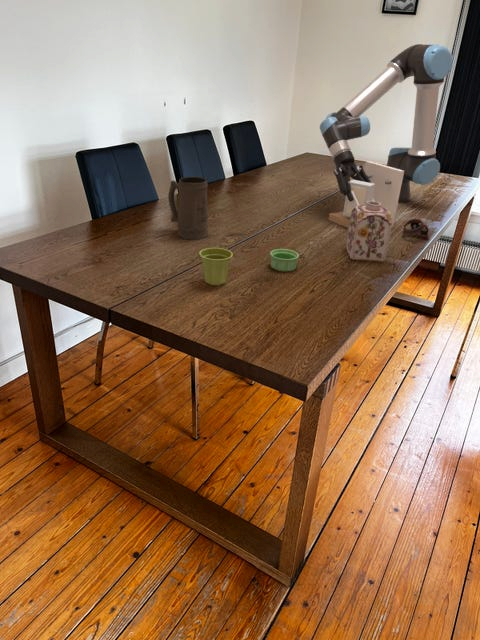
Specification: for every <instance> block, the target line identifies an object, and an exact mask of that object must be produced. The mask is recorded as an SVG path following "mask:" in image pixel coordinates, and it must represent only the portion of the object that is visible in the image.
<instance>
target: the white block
mask: <svg viewBox="0 0 480 640" xmlns="http://www.w3.org/2000/svg"><path fill="white" fill-rule="evenodd" d="M348 183H349V184H350V185H351V191H353V192H354V194H355V197H356V199H357V201H358V203H359V205H366V203H367V202H368V201H372V199H373V194H374V188H375V184H374V183H368V182H363V181H358V180H354V179H350V182H348ZM351 191H350V192H351ZM344 200H345V201H344V205H343V211H342V212H343V215H345V216H349V217H351V212H352V210H353V207H352V205H351V202H350V201H349V200H348V197H347V195H346V196H345V198H344Z"/></svg>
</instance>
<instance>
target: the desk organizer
mask: <svg viewBox="0 0 480 640" xmlns="http://www.w3.org/2000/svg"><path fill="white" fill-rule="evenodd" d="M364 172H365V173H366V175H367V177H368V178H369V180H370V182H371V183H374V184H375V188H374V194H373V199H374V201H375V202H379V203H381V206H382V207H384V208H387V209H389V211H390V212H391V218H392V228H393V227H394V223H395V219H396V218H395V217H396V214H397V210H398V204H399V202H398V200H399V195H400V190H401V185H402V180H403V175H404V171H403V170H399V169H396V168H392V167H389V166H387V165H385V164H381V163H379V162H377V163H376V162H375V161H370V160H369V161H365V166H364ZM328 221H331V222H333V223H335V224H337V225H339V226H342V227H344V228H347V229H349V223H350V217H349V216H345V215H343V211H338V212H332V213H329V214H328Z"/></svg>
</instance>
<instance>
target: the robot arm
mask: <svg viewBox="0 0 480 640" xmlns="http://www.w3.org/2000/svg"><path fill="white" fill-rule="evenodd" d="M452 67H453V55H452V52H451V51H450V50H449V49H448V47H446V46H444V45H439V44H423V43H420V44H418V43H417V44H414V45H410V46H409V47H407V48H405V49H403V50H402V51H401V52H400V53H398V54H396V56H394V58H393V59H391V60H390V61H389V62H388V63H387V65H386V68H384V70H383V71H382V72H380V73H379V74H378V75H377V76H376V77H375V78H374V79H373V80H371V82H369V83H368V84H367V85H366V86H365V87H364V88H362V90H361V91H360V92H358V93H357V94H356V95H355V96H353V98H351V100H349V101H348V102H346V104H345V105H343V107H341V108H340V109H339V110H338V111H336V112H330V113H329V114H327V116H326V118H325V119H324V120H322V121H321V122H320V124H319V130H320V134H321V136H322V137H323V140H324V143H325V145H326V146H327V149H328V151H329V153H330V156H331V158H332V159H333V164H334V165H335V169H334V171H333V174H334V176H335V178H336V181H337V184H338V188H339V192H340V194H343V196H344V197H346V195H347V197H348V200H349V201H350V202H351V205H352V207H353V209H354V208H355V207H356V206H358V205H359V203H358V201H357V199H356V197H355V194H354V192H353V191H351V185H350V184H349V183H348V182H350V181H351V180H358V181H363V182H368V183H371V182H370V180H369V178H368V177H367V175H366V173H365V172H364V170H365V168H364V167H363V165H362V164H361V165H358V166H357V165H356V163H355V156H354V155H353V152H352V151H351V147H350V145H349V143H348V141H350V140H354V139H358V138H362V137H364V136H367V135H368V134H369V133H370V131H371V123H370V120H369V118H368V117H367V116H365V115H363V114H364V113H365V112H366V111H368V110H369V109H370V108H371V107H372V106H373V105H375V103H377V102H378V101H379V100H380V99H382V97H383V96H384V95H385V94H387V93H388V92H389V91H391V89H392V88H393V87H395V86H396V85H397V84H399V83H403V82H404V81H405V80H406V79H409V78H410V77H413V81H412V82H413V85H414V86H415V87H416V93H415V107H414V118H413V129H412V130H413V131H412V137H411V138H412V140H411V147H400V146H399V147H392V148H390V150H389V154H388V156H387V163H386V166H389V167H392V168H396V169H399V170H403V171H404V175H403V180H402V185H401V190H400V195H399V200H398V203H407V202H409V201H411V198H412V197H411V196H412V194H411V185H410V184H411V182H412V183H414V184H417V185H421V186H425V185H429V184H431V183H432V182H433V181H434V180H435V179H436V178H437V177H438V175H439V173H440V170H441V164H440V162H439V160H438V159H436V155H437V154H436V153H437V151H436V149H435V148H434V140H435V139H434V138H435V130H436V121H437V120H436V119H437V110H438V101H439V94H440V87H441V85H443V84H444V83H445V78H446V77H447V76H448V75H449V72H451V70H452ZM362 115H363V116H362ZM350 191H351V192H350ZM372 201H374V199H372Z"/></svg>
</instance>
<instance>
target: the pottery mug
mask: <svg viewBox="0 0 480 640" xmlns="http://www.w3.org/2000/svg"><path fill="white" fill-rule="evenodd" d="M408 225H409V226H410V228H407V226H408ZM401 235H402V237H403V238H404V237H415V236H424V237H426V238H427V240H428V241H429V237H430V233H429V226H428V225H427V224H426V223H425V222H424V220H423V219H421V218H416V217H414V218H411V219H409V220H407V221H406V222H404V224H403V228H402V232H401Z"/></svg>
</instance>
